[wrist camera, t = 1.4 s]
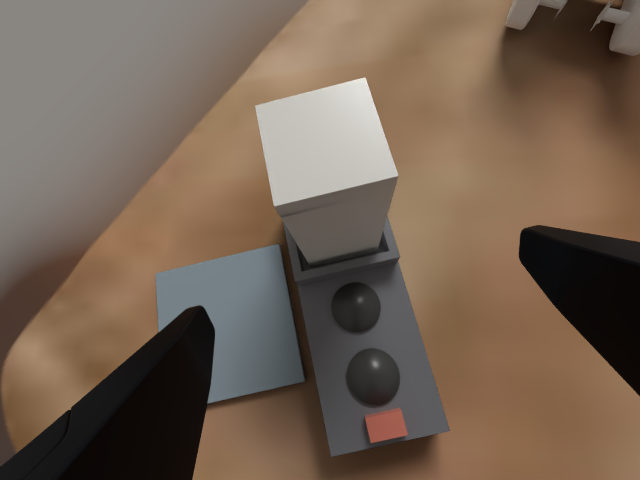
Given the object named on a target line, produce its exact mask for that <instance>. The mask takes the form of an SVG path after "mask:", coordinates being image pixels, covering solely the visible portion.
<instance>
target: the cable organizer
mask: <svg viewBox="0 0 640 480" xmlns="http://www.w3.org/2000/svg"><path fill="white" fill-rule="evenodd" d="M567 1H568V0H514V1H513V3H512V5H511V8H510V10H509V13H508V16H507V19H506V23H505V26H507V27H511V28H515V29H519V30H522V29H524V27H525V26H526V25H527V23H528V22H529V20H530V19H531V17H532V15H533V14H534V12H535V10H536V8H537V7H538V5H542V6H546V7H550V8H555V9H559V11H558V13H559V12H560V11H561V10H562V8H563V7H564V5H565V4H566V3H567ZM610 2H611V0H610V1H609V3H608V4H607V5H606V7H605V8H604V9H603V10H602V12H601V13H600V14H599V16H598V17H597V20H596V22H595V23H594V25H593V27H594V26H595V25H596V24H597V23H600V21H601V20H603V21H607V22H612V23H616V25H615V28H614V30H613V33H612V36H611V39H610V44H609V49H610V50H611V51H615V52H619V53H623V54H627V55H631V56H635V55H638V54H639V53H640V0H624V1H623V4H622V7H621V10H618V9H614V8H609V7H610V5H611V4H612V3H613V2H612V3H611V4H610ZM609 4H610V5H609ZM558 13H557V15H558ZM557 15H556V16H557ZM556 16H555V17H556ZM554 19H555V18H554ZM593 27H592V29H593ZM592 29H591V30H592ZM591 30H590V31H591Z"/></svg>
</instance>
